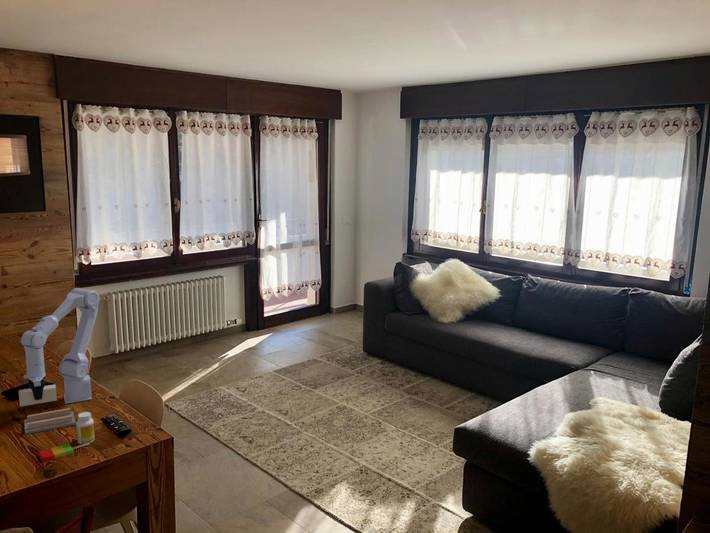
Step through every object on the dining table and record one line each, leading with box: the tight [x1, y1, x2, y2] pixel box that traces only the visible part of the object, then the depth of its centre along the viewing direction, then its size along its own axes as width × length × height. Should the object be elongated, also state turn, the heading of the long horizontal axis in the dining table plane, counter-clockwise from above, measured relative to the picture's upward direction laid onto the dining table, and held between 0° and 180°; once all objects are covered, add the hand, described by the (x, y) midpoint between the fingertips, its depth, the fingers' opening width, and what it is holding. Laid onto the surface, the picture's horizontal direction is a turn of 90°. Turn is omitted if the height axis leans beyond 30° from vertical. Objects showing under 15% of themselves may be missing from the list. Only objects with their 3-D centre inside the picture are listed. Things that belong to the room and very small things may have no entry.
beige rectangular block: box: [18, 384, 58, 407], centre depth 216 cm, size 12×4×5 cm, turn 120°
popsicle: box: [38, 443, 91, 463], centre depth 192 cm, size 6×15×2 cm, turn 131°
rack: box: [23, 407, 77, 435], centre depth 210 cm, size 16×10×3 cm, turn 120°
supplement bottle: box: [75, 411, 96, 445], centre depth 199 cm, size 5×5×10 cm
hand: (38, 397), depth 216 cm, fingers closed on beige rectangular block, 3 cm apart
